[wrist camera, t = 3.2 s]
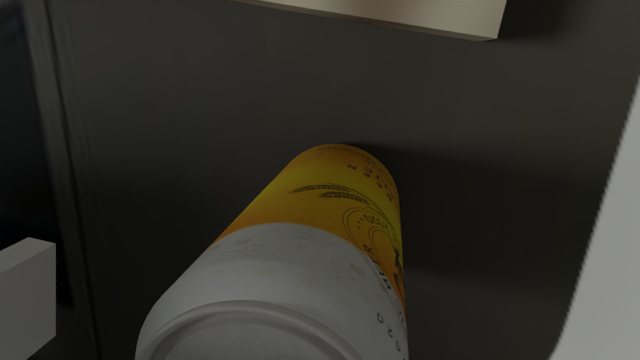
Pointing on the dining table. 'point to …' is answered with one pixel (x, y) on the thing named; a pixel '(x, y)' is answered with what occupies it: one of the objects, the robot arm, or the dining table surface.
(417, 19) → the socket board
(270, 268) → the beer can
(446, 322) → the dining table surface
